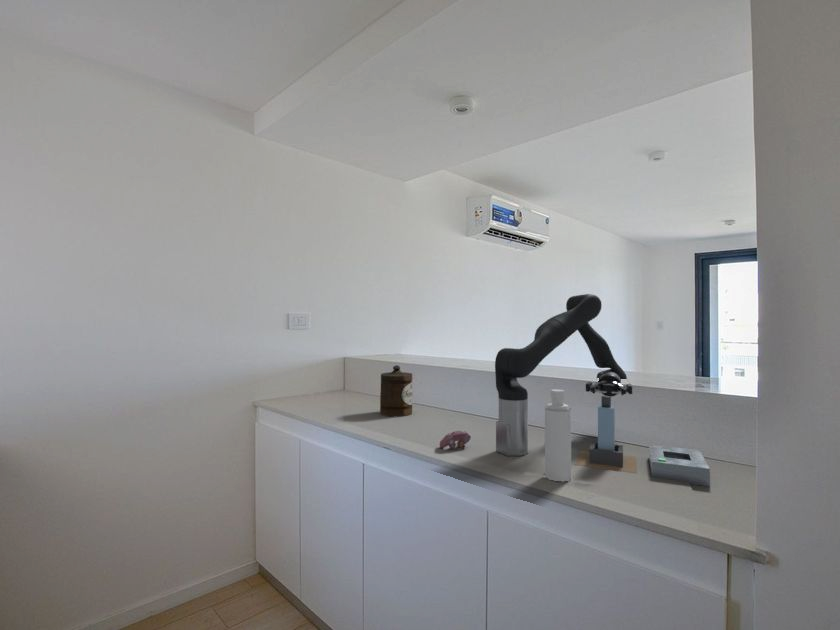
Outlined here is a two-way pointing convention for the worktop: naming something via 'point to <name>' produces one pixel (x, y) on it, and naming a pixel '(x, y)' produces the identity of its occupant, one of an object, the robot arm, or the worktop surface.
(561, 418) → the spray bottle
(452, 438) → the raw steak
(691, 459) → the port block
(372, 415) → the worktop surface
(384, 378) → the wooden container
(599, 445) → the plug
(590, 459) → the holster
